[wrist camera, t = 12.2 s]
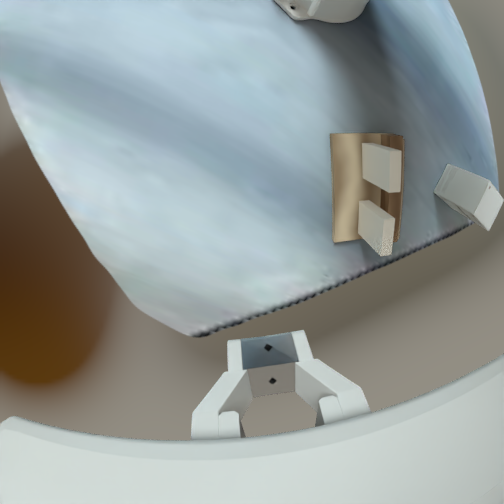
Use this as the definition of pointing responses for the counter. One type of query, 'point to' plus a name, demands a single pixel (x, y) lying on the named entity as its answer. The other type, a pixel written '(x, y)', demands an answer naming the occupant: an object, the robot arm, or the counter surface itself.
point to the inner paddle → (382, 166)
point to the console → (359, 183)
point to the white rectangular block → (376, 227)
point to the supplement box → (469, 195)
